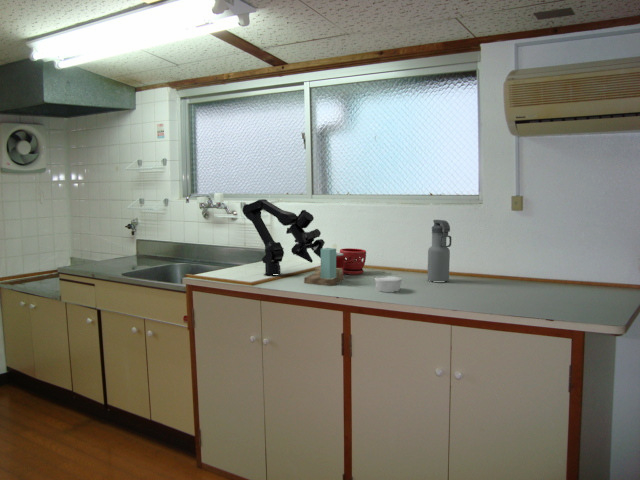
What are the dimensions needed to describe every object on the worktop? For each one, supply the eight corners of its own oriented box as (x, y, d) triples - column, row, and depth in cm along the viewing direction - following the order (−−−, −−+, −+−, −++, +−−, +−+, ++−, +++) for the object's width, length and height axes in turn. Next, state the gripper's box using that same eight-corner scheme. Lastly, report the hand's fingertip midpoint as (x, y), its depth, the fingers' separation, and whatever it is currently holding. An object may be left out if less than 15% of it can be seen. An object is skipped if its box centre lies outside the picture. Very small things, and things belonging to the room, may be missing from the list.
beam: (315, 274, 250) (315, 267, 249) (317, 272, 253) (317, 266, 252) (339, 275, 245) (339, 269, 245) (341, 274, 248) (341, 268, 248)
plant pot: (348, 276, 257) (349, 252, 256) (334, 272, 269) (334, 248, 267) (371, 274, 264) (371, 250, 262) (356, 270, 275) (356, 247, 274)
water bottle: (454, 281, 244) (455, 220, 241) (436, 283, 240) (438, 221, 236) (439, 278, 253) (441, 219, 250) (423, 279, 249) (424, 219, 245)
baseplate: (304, 283, 241) (304, 277, 240) (316, 277, 254) (316, 272, 253) (333, 285, 235) (333, 279, 235) (344, 280, 248) (344, 274, 248)
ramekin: (386, 286, 233) (386, 274, 233) (406, 290, 226) (407, 278, 225) (369, 290, 226) (369, 278, 225) (390, 294, 218) (390, 281, 217)
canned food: (343, 275, 261) (344, 252, 260) (343, 278, 254) (343, 255, 252) (328, 274, 262) (328, 252, 261) (326, 277, 254) (327, 254, 253)
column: (320, 277, 240) (320, 248, 239) (327, 276, 244) (327, 247, 243) (329, 278, 237) (329, 249, 236) (336, 277, 241) (336, 248, 240)
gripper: (296, 224, 237) (315, 251, 232) (321, 222, 252) (340, 247, 247) (283, 240, 243) (301, 267, 238) (308, 237, 258) (326, 262, 252)
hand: (318, 260), depth 244 cm, fingers open, 9 cm apart
